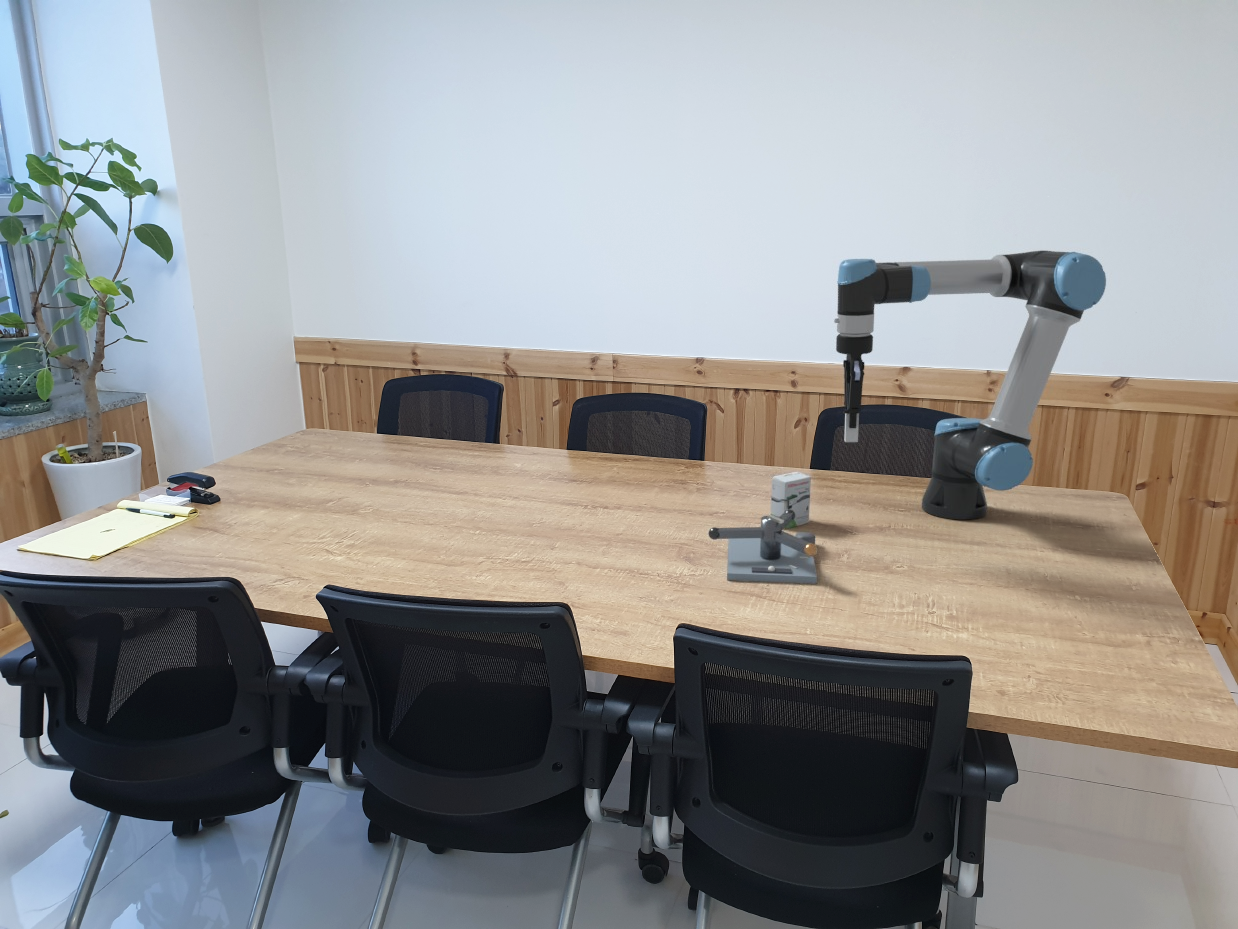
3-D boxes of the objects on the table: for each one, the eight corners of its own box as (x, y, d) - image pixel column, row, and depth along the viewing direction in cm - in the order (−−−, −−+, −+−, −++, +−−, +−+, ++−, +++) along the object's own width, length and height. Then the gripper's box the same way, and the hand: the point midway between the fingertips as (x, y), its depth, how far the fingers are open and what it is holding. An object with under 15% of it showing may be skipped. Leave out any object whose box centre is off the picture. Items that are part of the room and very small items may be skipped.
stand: (814, 542, 205) (814, 531, 204) (822, 583, 183) (823, 572, 182) (728, 539, 208) (728, 528, 207) (726, 580, 186) (727, 568, 185)
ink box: (783, 530, 213) (785, 481, 210) (769, 524, 217) (770, 476, 214) (810, 522, 218) (812, 475, 215) (795, 517, 222) (797, 470, 219)
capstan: (855, 564, 188) (858, 523, 186) (768, 589, 177) (770, 546, 174) (789, 534, 205) (790, 497, 203) (705, 556, 194) (706, 516, 191)
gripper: (833, 329, 199) (830, 433, 206) (840, 338, 187) (837, 449, 194) (868, 328, 198) (864, 433, 205) (878, 338, 186) (873, 449, 193)
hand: (851, 441), depth 199 cm, fingers closed
